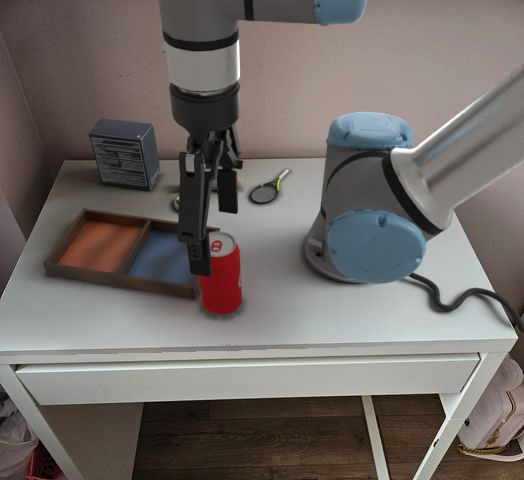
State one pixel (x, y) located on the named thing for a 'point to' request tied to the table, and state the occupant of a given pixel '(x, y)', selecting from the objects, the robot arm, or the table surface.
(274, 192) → the tennis racket
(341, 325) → the table surface
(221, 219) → the table surface
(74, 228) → the sorting tray
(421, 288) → the table surface
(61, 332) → the table surface
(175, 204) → the button
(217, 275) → the beverage can
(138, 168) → the small box
